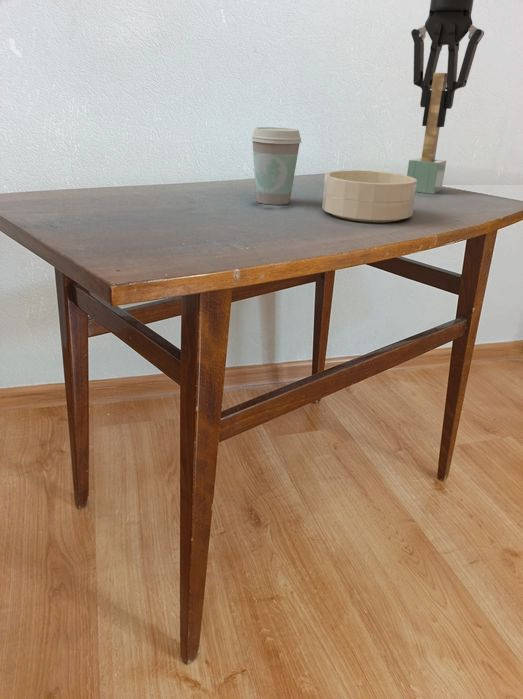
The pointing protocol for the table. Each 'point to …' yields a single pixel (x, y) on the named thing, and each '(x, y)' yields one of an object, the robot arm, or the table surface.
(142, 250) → the table surface
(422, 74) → the robot arm
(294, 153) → the coffee cup
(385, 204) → the bowl
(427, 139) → the stick
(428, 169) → the holder
